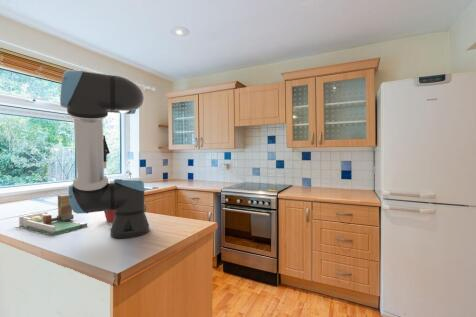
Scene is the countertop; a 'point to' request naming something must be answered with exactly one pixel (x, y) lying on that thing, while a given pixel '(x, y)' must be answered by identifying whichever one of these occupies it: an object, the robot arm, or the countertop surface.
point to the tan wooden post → (61, 210)
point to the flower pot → (110, 215)
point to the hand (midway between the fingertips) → (94, 168)
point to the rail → (78, 223)
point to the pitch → (50, 228)
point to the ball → (36, 219)
